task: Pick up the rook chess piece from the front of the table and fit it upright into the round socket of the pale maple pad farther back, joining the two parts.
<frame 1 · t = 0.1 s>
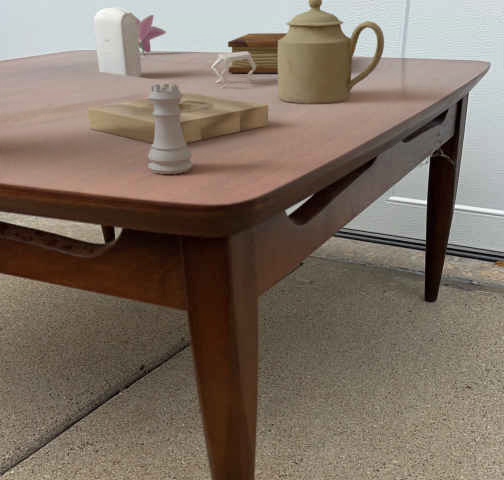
tombstone: (120, 78, 132), on the table
lily: (140, 55, 169), on the table
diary: (284, 67, 142), on the table
pad: (178, 126, 87), on the table
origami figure: (232, 85, 120), on the table
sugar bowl: (326, 99, 105), on the table
rook chess piece: (171, 171, 68), on the table
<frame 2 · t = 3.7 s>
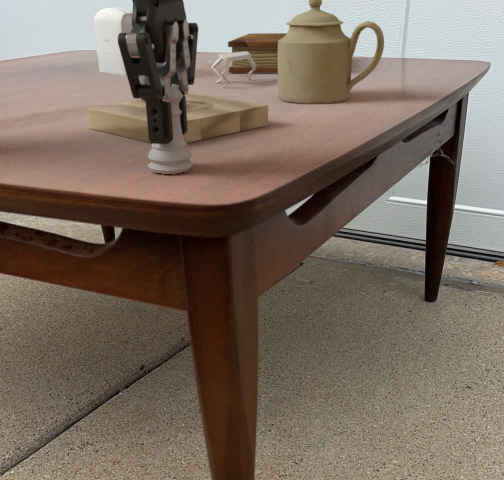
hand: (168, 137, 67), 3 cm above the table, tool pointing down, fingers closed on rook chess piece, 3 cm apart
rook chess piece: (171, 171, 68), on the table, touching gripper
everything else where it was.
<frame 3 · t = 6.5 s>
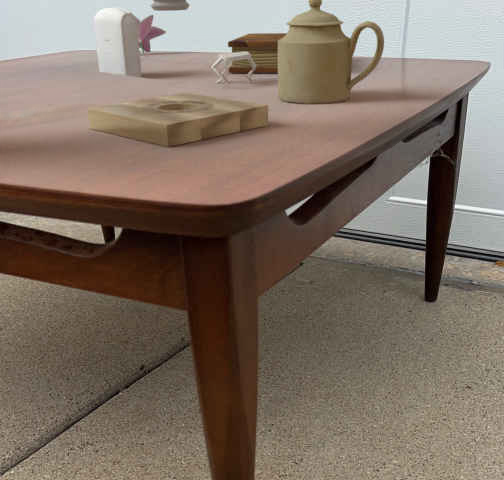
rook chess piece: (170, 11, 79), point 14 cm above the table, touching gripper
everything else where it was.
when the fingers open (3 cm above the table, at t = 9.6 s): rook chess piece stays where it is, resting in pad.
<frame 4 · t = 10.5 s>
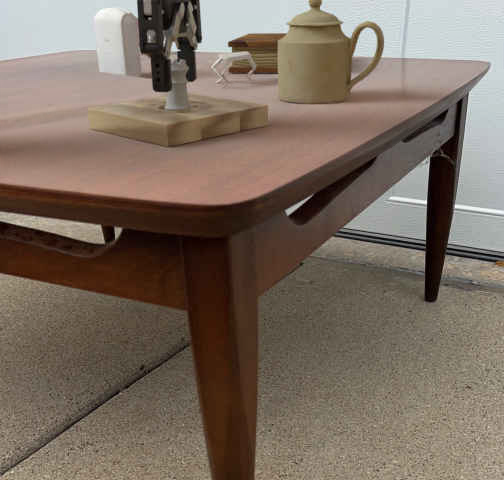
hand: (175, 86, 85), 5 cm above the table, tool pointing down, fingers open, 8 cm apart
rook chess piece: (179, 128, 87), resting in pad
everything else where it was.
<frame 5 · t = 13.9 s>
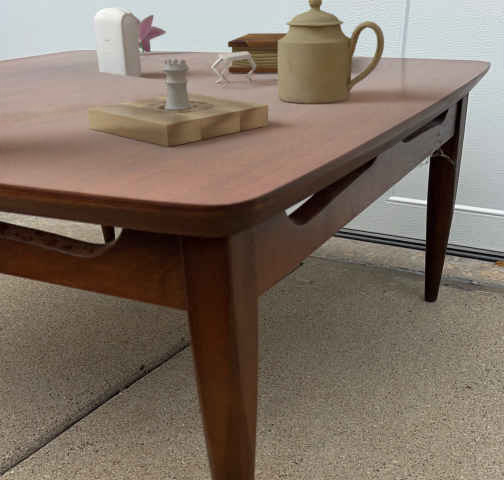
nothing on the table moved.
at the end: rook chess piece 0.1 cm off-centre in the pad, point 0.0 cm above the pad's base; rook chess piece tilted 0° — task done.
